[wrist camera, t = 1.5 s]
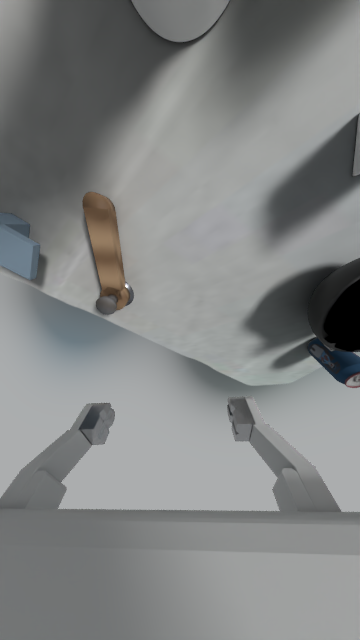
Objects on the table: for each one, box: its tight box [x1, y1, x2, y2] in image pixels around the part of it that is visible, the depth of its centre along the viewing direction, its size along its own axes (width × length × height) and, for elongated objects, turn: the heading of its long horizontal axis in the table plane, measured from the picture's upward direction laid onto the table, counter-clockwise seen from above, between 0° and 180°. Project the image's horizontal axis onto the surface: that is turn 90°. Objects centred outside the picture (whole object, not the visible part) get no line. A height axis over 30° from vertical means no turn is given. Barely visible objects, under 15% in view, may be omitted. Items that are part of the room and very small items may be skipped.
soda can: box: [308, 338, 360, 388], centre depth 37 cm, size 7×7×12 cm
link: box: [83, 192, 130, 315], centre depth 27 cm, size 21×6×7 cm, turn 176°
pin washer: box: [125, 282, 134, 306], centre depth 35 cm, size 7×7×1 cm
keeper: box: [0, 213, 40, 280], centre depth 27 cm, size 8×7×6 cm
